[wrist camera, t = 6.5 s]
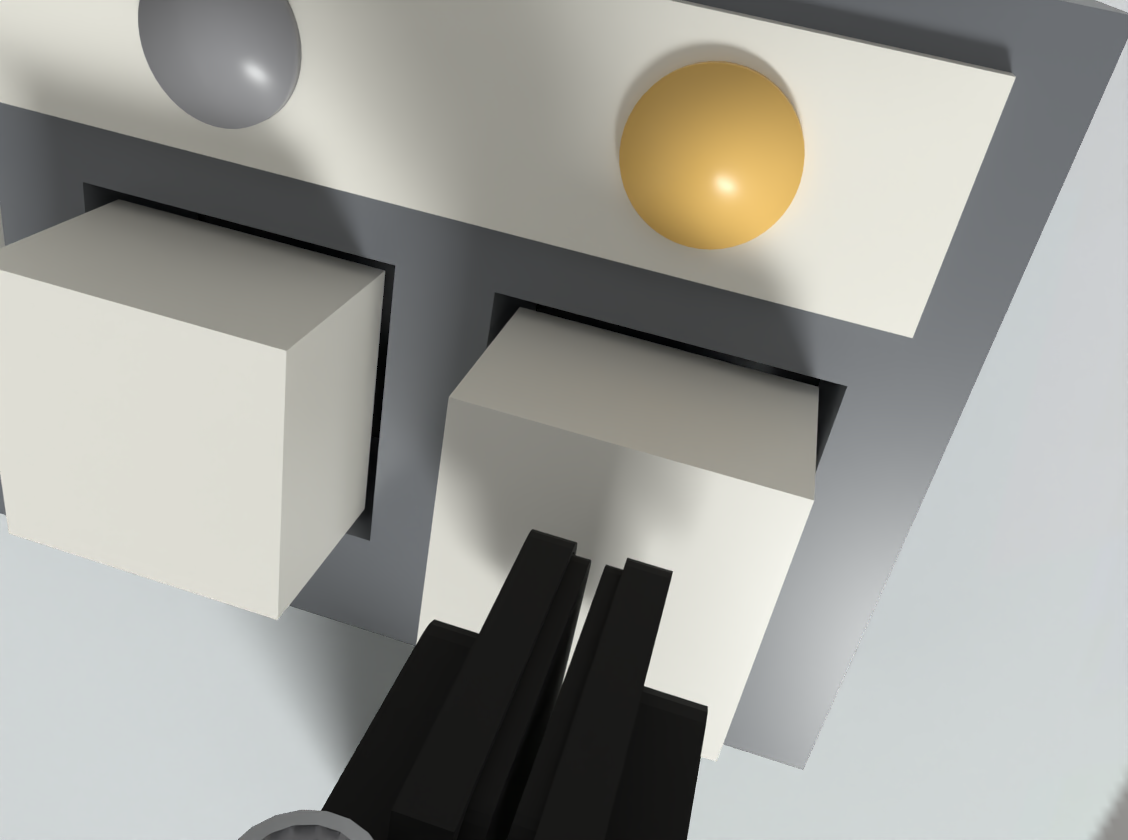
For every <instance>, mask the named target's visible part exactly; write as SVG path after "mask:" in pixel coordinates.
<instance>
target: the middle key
mask: <svg viewBox="0 0 1128 840" xmlns="http://www.w3.org/2000/svg"><path fill="white" fill-rule="evenodd" d="M384 279H385V270H381V269H377V268H374V267H370V266H366V265H362V264H359V263H355V262H351V261H347V260H344V259H340V258H336V257H333V256H329V255H325V254H321V253H318V252H314V251H310V250H306V249H303V248H299V247H295V246H292V245H288V244H284V243H280V242H277V241H273V240H269V239H265V238H262V237H258V236H254V235H251V234H247V233H243V232H239V231H236V230H232V229H228V228H224V227H221V226H217V225H213V224H210V223H206V222H202V221H198V220H195V219H191V218H187V217H183V216H180V215H176V214H172V213H169V212H165V211H161V210H157V209H154V208H150V207H146V206H142V205H139V204H135V203H131V202H128V201H124V200H120V199H118V200H116V201H113V202H111V203H108V204H106V205H104V206H101V207H99V208H96V209H94V210H92V211H89V212H87V213H84V214H82V215H79V216H77V217H75V218H72V219H70V220H67V221H65V222H62V223H60V224H58V225H55V226H53V227H50V228H48V229H46V230H43V231H41V232H38V233H36V234H33V235H31V236H29V237H26V238H24V239H21V240H19V241H17V242H14V243H12V244H9V245H7V246H4V247H2V248H0V476H1V483H2V490H3V497H4V504H5V510H6V517H7V524H8V531H9V534H12V535H15V536H18V537H21V538H24V539H27V540H30V541H34V542H37V543H40V544H43V545H46V546H49V547H52V548H55V549H58V550H61V551H65V552H68V553H71V554H74V555H77V556H80V557H83V558H86V559H89V560H92V561H96V562H99V563H102V564H105V565H108V566H111V567H114V568H117V569H120V570H123V571H127V572H130V573H133V574H136V575H139V576H142V577H145V578H148V579H151V580H155V581H158V582H161V583H164V584H167V585H170V586H173V587H176V588H179V589H182V590H186V591H189V592H192V593H195V594H198V595H201V596H204V597H207V598H210V599H213V600H217V601H220V602H223V603H226V604H229V605H232V606H235V607H238V608H241V609H244V610H248V611H251V612H254V613H257V614H260V615H263V616H266V617H269V618H272V619H276V620H278V619H279V618H280V617H281V615H282V614H283V613H284V611H285V610H286V609H287V608H288V606H289V605H290V604H291V602H292V601H293V600H294V599H295V597H296V596H297V595H298V594H299V592H300V591H301V590H302V588H303V587H304V586H305V585H306V583H307V582H308V581H309V579H310V578H311V577H312V576H313V574H314V573H315V572H316V571H317V569H318V568H319V567H320V565H321V564H322V563H323V562H324V560H325V559H326V558H327V556H328V555H329V554H330V553H331V551H332V550H333V549H334V547H335V546H336V545H337V544H338V542H339V541H340V540H341V539H342V537H343V536H344V535H345V533H346V532H347V531H348V530H349V528H350V527H351V526H352V524H353V523H354V522H355V521H356V519H357V518H358V517H359V516H360V514H361V513H362V512H363V510H364V509H365V499H366V488H367V476H368V465H369V453H370V441H371V430H372V418H373V407H374V395H375V384H376V372H377V360H378V349H379V337H380V326H381V314H382V302H383V291H384Z"/></svg>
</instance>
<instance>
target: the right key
mask: <svg viewBox="0 0 1128 840" xmlns="http://www.w3.org/2000/svg"><path fill="white" fill-rule="evenodd" d="M818 401H819V387H817V386H813V385H810V384H806V383H802V382H798V381H795V380H791V379H787V378H784V377H780V376H776V375H772V374H769V373H765V372H761V371H757V370H754V369H750V368H746V367H743V366H739V365H735V364H731V363H728V362H724V361H720V360H716V359H713V358H709V357H705V356H702V355H698V354H694V353H690V352H687V351H683V350H679V349H675V348H672V347H668V346H664V345H661V344H657V343H653V342H649V341H646V340H642V339H638V338H634V337H631V336H627V335H623V334H620V333H616V332H612V331H608V330H605V329H601V328H597V327H593V326H590V325H586V324H582V323H578V322H575V321H571V320H567V319H564V318H560V317H556V316H552V315H549V314H545V313H541V312H537V311H534V310H530V309H526V308H523V307H519V309H518V310H517V311H516V312H515V314H514V315H513V316H512V317H511V319H510V320H509V321H508V322H507V324H506V325H505V326H504V328H503V329H502V330H501V331H500V333H499V334H498V335H497V336H496V338H495V339H494V340H493V341H492V343H491V344H490V345H489V347H488V348H487V349H486V350H485V352H484V353H483V354H482V355H481V357H480V358H479V359H478V360H477V362H476V363H475V364H474V366H473V367H472V368H471V369H470V371H469V372H468V373H467V374H466V376H465V377H464V378H463V380H462V381H461V382H460V383H459V385H458V386H457V387H456V388H455V390H454V391H453V392H452V393H451V395H450V396H449V399H448V406H447V414H446V422H445V429H444V437H443V444H442V452H441V460H440V467H439V475H438V483H437V490H436V498H435V505H434V513H433V521H432V528H431V536H430V544H429V551H428V559H427V566H426V574H425V582H424V589H423V597H422V605H421V612H420V620H419V628H418V635H417V642H418V641H419V639H420V637H421V635H422V634H423V632H424V631H425V629H426V628H427V626H428V625H429V623H430V622H432V621H433V620H434V619H435V620H438V621H441V622H444V623H448V624H451V625H454V626H457V627H460V628H463V629H466V630H470V631H473V632H476V633H479V632H480V630H481V628H482V626H483V624H484V622H485V620H486V618H487V616H488V614H489V612H490V610H491V608H492V606H493V604H494V602H495V600H496V598H497V596H498V594H499V592H500V590H501V588H502V586H503V584H504V582H505V580H506V578H507V576H508V574H509V572H510V570H511V568H512V566H513V564H514V562H515V560H516V558H517V556H518V554H519V552H520V550H521V548H522V546H523V544H524V542H525V540H526V538H527V536H528V534H529V532H530V531H531V530H532V529H534V530H538V531H541V532H544V533H548V534H551V535H554V536H558V537H561V538H564V539H568V540H571V541H574V542H577V550H576V555H577V556H580V557H583V558H587V559H590V560H591V566H590V571H589V575H588V579H587V583H586V588H585V592H584V596H583V600H582V604H581V608H580V613H579V617H578V621H577V625H576V629H575V633H574V638H573V642H572V646H571V650H570V654H569V658H568V663H567V667H566V671H565V675H564V678H565V676H566V673H567V670H568V667H569V664H570V662H571V659H572V656H573V653H574V651H575V648H576V645H577V642H578V639H579V637H580V634H581V631H582V628H583V625H584V623H585V620H586V617H587V614H588V612H589V609H590V606H591V603H592V600H593V598H594V595H595V592H596V589H597V587H598V584H599V581H600V578H601V575H602V573H603V570H604V567H605V565H610V566H613V567H616V568H620V569H624V566H625V563H626V560H627V558H631V559H634V560H637V561H641V562H644V563H647V564H651V565H654V566H657V567H661V568H664V569H667V570H671V571H673V574H672V578H671V582H670V586H669V590H668V594H667V598H666V602H665V605H664V609H663V613H662V617H661V621H660V625H659V629H658V633H657V637H656V641H655V645H654V648H653V652H652V656H651V660H650V664H649V668H648V672H647V676H646V680H645V684H644V686H646V687H649V688H652V689H655V690H658V691H661V692H664V693H668V694H671V695H674V696H677V697H680V698H683V699H686V700H690V701H693V702H696V703H699V704H702V705H705V706H708V715H707V722H706V728H705V734H704V740H703V746H702V752H701V757H704V758H707V759H710V760H713V761H716V762H717V759H718V756H719V754H720V751H721V748H722V746H723V743H724V740H725V738H726V735H727V732H728V730H729V727H730V724H731V722H732V719H733V716H734V714H735V711H736V708H737V706H738V703H739V700H740V698H741V695H742V692H743V690H744V687H745V684H746V682H747V679H748V676H749V674H750V671H751V668H752V666H753V663H754V660H755V658H756V655H757V652H758V650H759V647H760V644H761V642H762V639H763V636H764V634H765V631H766V628H767V626H768V623H769V620H770V617H771V615H772V612H773V609H774V607H775V604H776V601H777V599H778V596H779V593H780V591H781V588H782V585H783V583H784V580H785V577H786V575H787V572H788V569H789V567H790V564H791V561H792V559H793V556H794V553H795V551H796V548H797V545H798V543H799V540H800V537H801V535H802V532H803V529H804V527H805V524H806V521H807V519H808V516H809V513H810V511H811V508H812V505H813V503H814V494H815V471H816V448H817V424H818ZM416 644H417V643H416ZM563 681H564V679H563ZM562 684H563V683H562Z"/></svg>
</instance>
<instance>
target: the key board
mask: <svg viewBox="0 0 1128 840" xmlns="http://www.w3.org/2000/svg"><path fill="white" fill-rule="evenodd" d="M1127 39H1128V13H1127V12H1124V11H1122V10H1119V9H1117V8H1114V7H1111V6H1109V5H1106V4H1104V3H1101V2H1099V1H1096V0H0V209H1V217H2V225H3V233H4V241H5V246H7V245H9V244H12V243H14V242H17V241H19V240H21V239H24V238H26V237H29V236H31V235H33V234H36V233H38V232H41V231H43V230H46V229H48V228H50V227H53V226H55V225H58V224H60V223H62V222H65V221H67V220H70V219H72V218H75V217H77V216H79V215H82V214H84V213H87V212H89V211H92V210H94V209H96V208H99V207H101V206H104V205H106V204H108V203H111V202H113V201H116V200H118V199H120V200H124V201H128V202H131V203H135V204H139V205H142V206H146V207H150V208H154V209H157V210H161V211H165V212H169V213H172V214H176V215H180V216H183V217H187V218H191V219H195V220H198V213H201V214H204V215H208V216H212V217H216V218H219V219H223V220H227V221H231V222H234V223H238V224H242V225H246V226H249V227H253V228H257V229H260V230H264V231H268V232H272V233H275V234H279V235H283V236H287V237H290V238H294V239H298V240H302V241H305V242H309V243H313V244H317V245H320V246H324V247H328V248H332V249H335V250H339V251H343V252H347V253H350V254H354V255H358V256H362V257H365V258H369V259H373V260H377V261H380V262H384V263H388V264H392V265H395V274H394V285H393V296H392V307H391V318H390V329H389V340H388V351H387V362H386V373H385V383H384V394H383V405H382V416H381V427H380V438H377V437H374V436H371V441H370V453H369V465H368V476H367V488H366V499H365V509H364V510H363V512H362V513H361V514H360V516H359V517H358V518H357V519H356V521H355V522H354V523H353V524H352V526H351V527H350V528H349V530H348V531H347V532H346V533H345V535H344V536H343V537H342V539H341V540H340V541H339V542H338V544H337V545H336V546H335V547H334V549H333V550H332V551H331V553H330V554H329V555H328V556H327V558H326V559H325V560H324V562H323V563H322V564H321V565H320V567H319V568H318V569H317V571H316V572H315V573H314V574H313V576H312V577H311V578H310V579H309V581H308V582H307V583H306V585H305V586H304V587H303V588H302V590H301V591H300V592H299V594H298V595H297V596H296V597H295V599H294V600H293V601H292V602H291V604H290V605H289V606H292V607H296V608H299V609H302V610H305V611H308V612H311V613H314V614H317V615H321V616H324V617H327V618H330V619H333V620H336V621H339V622H342V623H346V624H349V625H352V626H355V627H358V628H361V629H364V630H368V631H371V632H374V633H377V634H380V635H383V636H386V637H389V638H393V639H396V640H399V641H402V642H405V643H408V644H411V645H414V646H416V643H417V635H418V628H419V620H420V612H421V605H422V597H423V589H424V582H425V574H426V566H427V559H428V551H429V544H430V536H431V528H432V521H433V513H434V505H435V498H436V490H437V483H438V475H439V467H440V460H441V452H442V444H443V437H444V429H445V422H446V414H447V406H448V399H449V396H450V395H451V393H452V392H453V391H454V390H455V388H456V387H457V386H458V385H459V383H460V382H461V381H462V380H463V378H464V377H465V376H466V374H467V373H468V372H469V371H470V369H471V368H472V367H473V366H474V364H475V363H476V362H477V360H478V359H479V358H480V357H481V355H482V354H483V353H484V352H485V350H486V349H487V348H488V347H489V345H490V344H491V343H492V341H493V340H494V339H495V338H496V336H497V335H498V334H499V333H500V331H501V330H502V329H503V328H504V326H505V325H506V324H507V322H508V321H509V320H510V319H511V317H512V316H513V315H514V314H515V312H516V311H517V310H518V309H519V307H523V308H526V309H530V310H534V311H535V310H536V304H541V305H545V306H549V307H552V308H556V309H560V310H564V311H567V312H571V313H575V314H579V315H582V316H586V317H590V318H594V319H597V320H601V321H605V322H609V323H612V324H616V325H620V326H624V327H627V328H631V329H635V330H639V331H642V332H646V333H650V334H654V335H657V336H661V337H665V338H669V339H672V340H676V341H680V342H683V343H687V344H691V345H695V346H698V347H702V348H706V349H710V350H713V351H717V352H721V353H725V354H728V355H732V356H736V357H740V358H743V359H747V360H751V361H755V362H758V363H762V364H766V365H770V366H773V367H777V368H781V369H785V370H788V371H792V372H796V373H800V374H803V375H807V376H811V377H815V378H818V379H821V380H820V383H819V385H818V387H819V401H818V424H817V448H816V471H815V494H814V503H813V505H812V508H811V511H810V513H809V516H808V519H807V521H806V524H805V527H804V529H803V532H802V535H801V537H800V540H799V543H798V545H797V548H796V551H795V553H794V556H793V559H792V561H791V564H790V567H789V569H788V572H787V575H786V577H785V580H784V583H783V585H782V588H781V591H780V593H779V596H778V599H777V601H776V604H775V607H774V609H773V612H772V615H771V617H770V620H769V623H768V626H767V628H766V631H765V634H764V636H763V639H762V642H761V644H760V647H759V650H758V652H757V655H756V658H755V660H754V663H753V666H752V668H751V671H750V674H749V676H748V679H747V682H746V684H745V687H744V690H743V692H742V695H741V698H740V700H739V703H738V706H737V708H736V711H735V714H734V716H733V719H732V722H731V724H730V727H729V730H728V732H727V735H726V738H725V740H724V743H723V744H724V745H727V746H730V747H733V748H737V749H740V750H743V751H746V752H749V753H752V754H755V755H758V756H762V757H765V758H768V759H771V760H774V761H777V762H780V763H784V764H787V765H790V766H793V767H796V768H799V769H802V770H803V769H804V767H805V765H806V763H807V760H808V758H809V756H810V754H811V751H812V749H813V747H814V745H815V742H816V740H817V738H818V736H819V733H820V731H821V729H822V727H823V724H824V722H825V720H826V718H827V715H828V713H829V711H830V709H831V706H832V704H833V702H834V699H835V697H836V695H837V693H838V690H839V688H840V686H841V684H842V681H843V679H844V677H845V675H846V672H847V670H848V668H849V666H850V663H851V661H852V659H853V657H854V654H855V652H856V650H857V648H858V645H859V643H860V641H861V639H862V636H863V634H864V632H865V630H866V627H867V625H868V623H869V621H870V618H871V616H872V614H873V612H874V609H875V607H876V605H877V603H878V600H879V598H880V596H881V594H882V591H883V589H884V587H885V585H886V582H887V580H888V578H889V576H890V573H891V571H892V569H893V567H894V564H895V562H896V560H897V558H898V555H899V553H900V551H901V548H902V546H903V544H904V542H905V539H906V537H907V535H908V533H909V530H910V528H911V526H912V524H913V521H914V519H915V517H916V515H917V512H918V510H919V508H920V506H921V503H922V501H923V499H924V497H925V494H926V492H927V490H928V488H929V485H930V483H931V481H932V479H933V476H934V474H935V472H936V470H937V467H938V465H939V463H940V461H941V458H942V456H943V454H944V452H945V449H946V447H947V445H948V443H949V440H950V438H951V436H952V434H953V431H954V429H955V427H956V425H957V422H958V420H959V418H960V416H961V413H962V411H963V409H964V407H965V404H966V402H967V400H968V397H969V395H970V393H971V391H972V388H973V386H974V384H975V382H976V379H977V377H978V375H979V373H980V370H981V368H982V366H983V364H984V361H985V359H986V357H987V355H988V352H989V350H990V348H991V346H992V343H993V341H994V339H995V337H996V334H997V332H998V330H999V328H1000V325H1001V323H1002V321H1003V319H1004V316H1005V314H1006V312H1007V310H1008V307H1009V305H1010V303H1011V301H1012V298H1013V296H1014V294H1015V292H1016V289H1017V287H1018V285H1019V283H1020V280H1021V278H1022V276H1023V274H1024V271H1025V269H1026V267H1027V265H1028V262H1029V260H1030V258H1031V256H1032V253H1033V251H1034V249H1035V246H1036V244H1037V242H1038V240H1039V237H1040V235H1041V233H1042V231H1043V228H1044V226H1045V224H1046V222H1047V219H1048V217H1049V215H1050V213H1051V210H1052V208H1053V206H1054V204H1055V201H1056V199H1057V197H1058V195H1059V192H1060V190H1061V188H1062V186H1063V183H1064V181H1065V179H1066V177H1067V174H1068V172H1069V170H1070V168H1071V165H1072V163H1073V161H1074V159H1075V156H1076V154H1077V152H1078V150H1079V147H1080V145H1081V143H1082V141H1083V138H1084V136H1085V134H1086V132H1087V129H1088V127H1089V125H1090V123H1091V120H1092V118H1093V116H1094V114H1095V111H1096V109H1097V107H1098V105H1099V102H1100V100H1101V98H1102V95H1103V93H1104V91H1105V89H1106V86H1107V84H1108V82H1109V80H1110V77H1111V75H1112V73H1113V71H1114V68H1115V66H1116V64H1117V62H1118V59H1119V57H1120V55H1121V53H1122V50H1123V48H1124V46H1125V44H1126V41H1127ZM0 513H2V514H5V515H6V510H5V504H4V497H3V490H2V483H1V476H0Z"/></svg>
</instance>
